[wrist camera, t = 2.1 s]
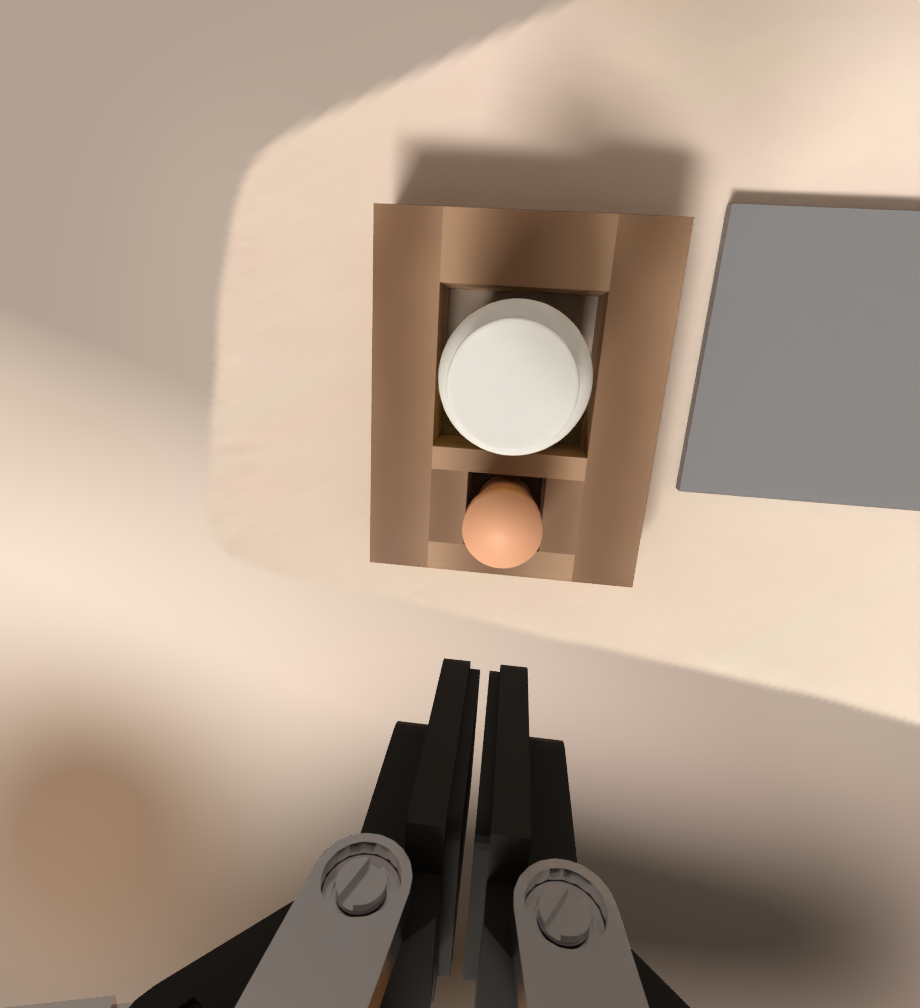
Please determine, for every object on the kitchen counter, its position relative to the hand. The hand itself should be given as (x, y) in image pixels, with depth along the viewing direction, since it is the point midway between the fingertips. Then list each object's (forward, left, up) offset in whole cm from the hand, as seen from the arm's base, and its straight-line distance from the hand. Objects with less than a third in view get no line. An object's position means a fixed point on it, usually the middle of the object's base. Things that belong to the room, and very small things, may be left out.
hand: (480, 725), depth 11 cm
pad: (-14, -7, -17) cm, 23 cm away
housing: (0, -5, -17) cm, 18 cm away
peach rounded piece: (0, 0, -16) cm, 16 cm away
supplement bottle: (0, -6, -17) cm, 18 cm away
